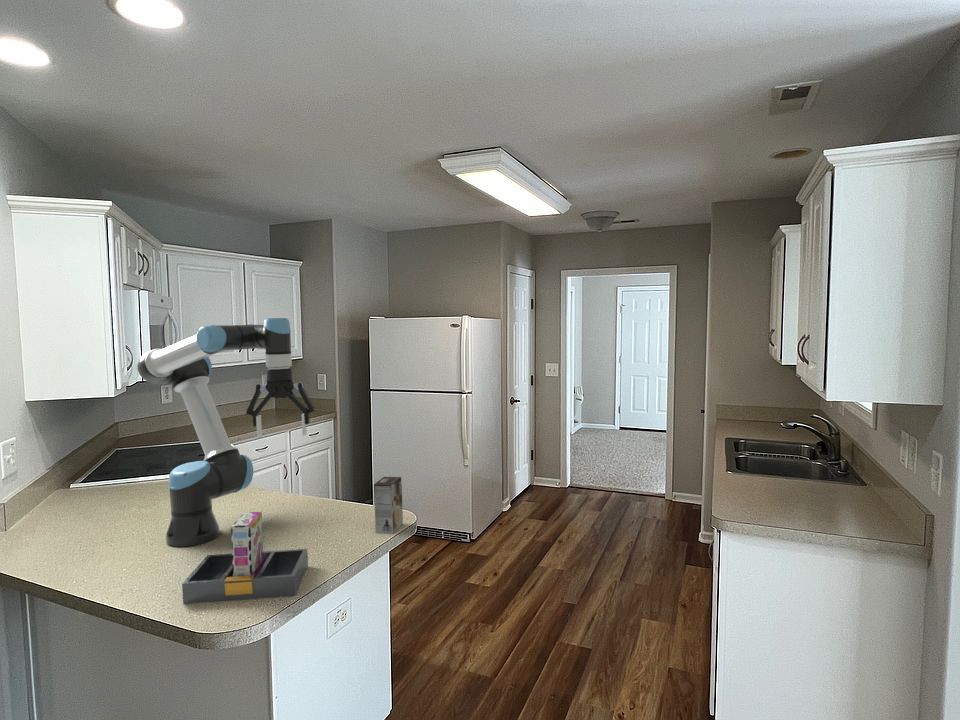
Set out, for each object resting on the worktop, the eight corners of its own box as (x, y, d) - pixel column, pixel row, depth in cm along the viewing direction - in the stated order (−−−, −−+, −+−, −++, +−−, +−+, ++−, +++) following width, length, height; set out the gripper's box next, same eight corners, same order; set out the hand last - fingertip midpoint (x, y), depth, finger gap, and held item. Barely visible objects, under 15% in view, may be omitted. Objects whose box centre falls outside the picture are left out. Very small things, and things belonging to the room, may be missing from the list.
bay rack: (182, 604, 137) (181, 583, 137) (208, 572, 154) (207, 553, 154) (294, 596, 140) (293, 575, 140) (308, 566, 157) (307, 547, 157)
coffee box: (385, 522, 190) (383, 475, 189) (403, 523, 189) (402, 476, 188) (374, 533, 181) (373, 483, 180) (393, 534, 180) (392, 484, 179)
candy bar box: (253, 589, 142) (250, 525, 141) (232, 590, 142) (229, 526, 140) (265, 569, 153) (262, 510, 152) (245, 571, 153) (242, 511, 151)
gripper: (322, 365, 180) (324, 431, 181) (240, 367, 177) (244, 434, 178) (318, 367, 172) (321, 436, 174) (233, 370, 169) (236, 439, 171)
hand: (282, 435), depth 176 cm, fingers open, 13 cm apart
